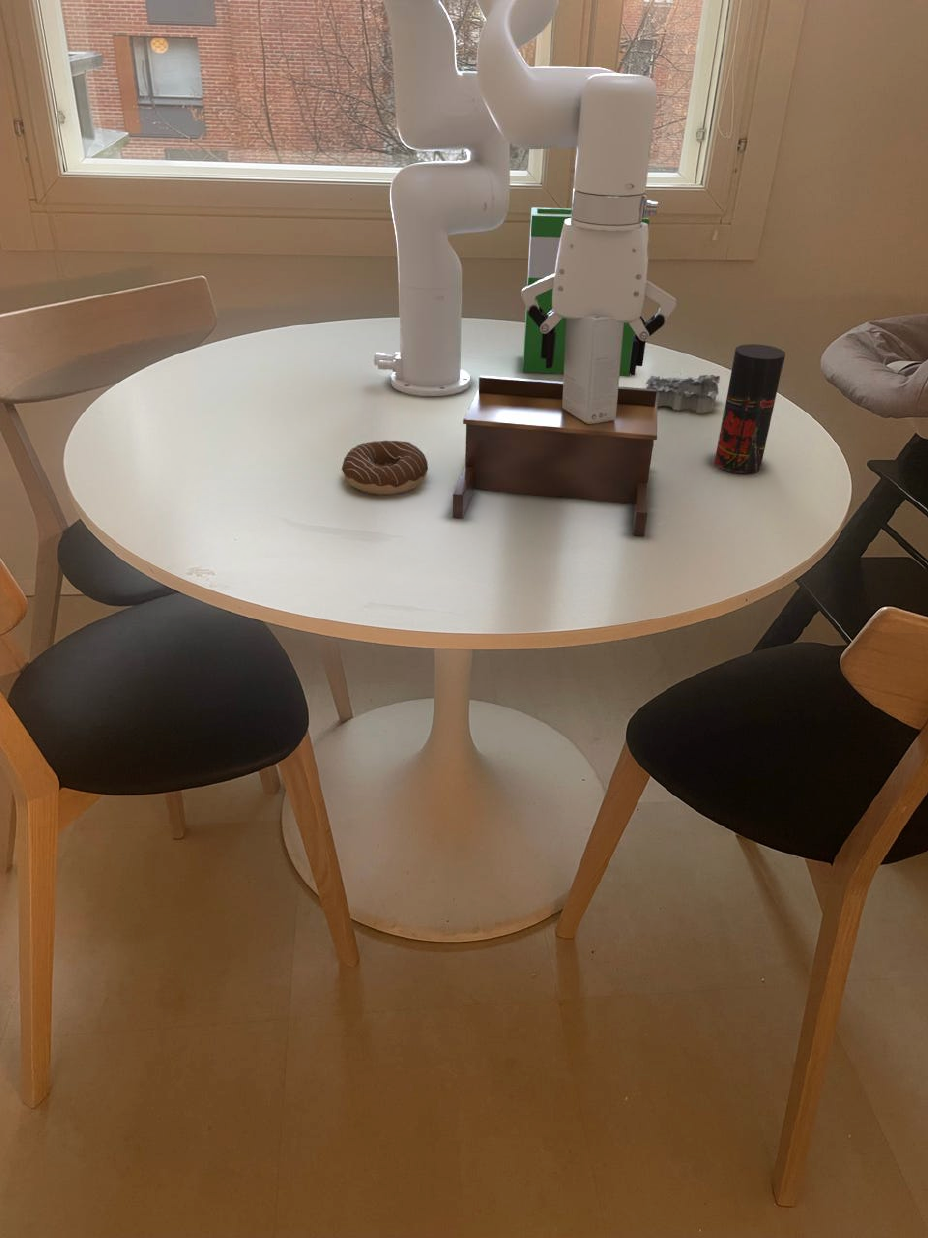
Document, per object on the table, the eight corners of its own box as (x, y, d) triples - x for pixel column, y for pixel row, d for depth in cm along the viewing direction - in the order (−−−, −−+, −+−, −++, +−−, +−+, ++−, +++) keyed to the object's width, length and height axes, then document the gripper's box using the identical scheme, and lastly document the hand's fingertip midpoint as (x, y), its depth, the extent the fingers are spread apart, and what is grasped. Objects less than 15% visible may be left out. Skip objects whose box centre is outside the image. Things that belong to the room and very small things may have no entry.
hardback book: (625, 362, 155) (643, 210, 141) (630, 376, 148) (649, 218, 135) (523, 358, 155) (531, 207, 142) (522, 372, 149) (531, 215, 136)
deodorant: (708, 456, 121) (728, 344, 113) (751, 455, 122) (774, 343, 113) (722, 474, 116) (745, 358, 108) (767, 473, 117) (792, 358, 109)
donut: (422, 461, 118) (422, 432, 116) (434, 497, 109) (434, 466, 107) (340, 466, 116) (338, 436, 114) (345, 502, 107) (343, 471, 105)
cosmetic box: (617, 420, 107) (629, 316, 100) (584, 426, 105) (595, 320, 98) (589, 403, 111) (599, 302, 105) (557, 408, 110) (566, 306, 103)
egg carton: (719, 401, 139) (724, 375, 137) (709, 417, 134) (714, 390, 131) (651, 390, 143) (655, 364, 141) (639, 405, 137) (643, 378, 135)
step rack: (449, 517, 105) (451, 427, 99) (475, 456, 120) (477, 374, 114) (646, 536, 102) (660, 444, 96) (647, 471, 117) (659, 388, 111)
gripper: (688, 208, 98) (665, 364, 107) (530, 199, 100) (521, 352, 109) (691, 220, 92) (666, 385, 101) (522, 210, 94) (513, 372, 103)
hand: (590, 368), depth 105 cm, fingers open, 9 cm apart
